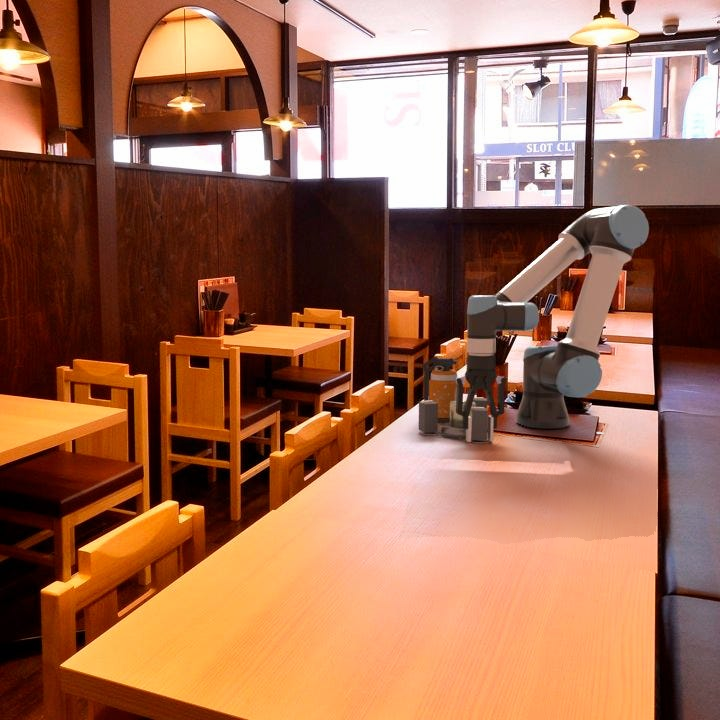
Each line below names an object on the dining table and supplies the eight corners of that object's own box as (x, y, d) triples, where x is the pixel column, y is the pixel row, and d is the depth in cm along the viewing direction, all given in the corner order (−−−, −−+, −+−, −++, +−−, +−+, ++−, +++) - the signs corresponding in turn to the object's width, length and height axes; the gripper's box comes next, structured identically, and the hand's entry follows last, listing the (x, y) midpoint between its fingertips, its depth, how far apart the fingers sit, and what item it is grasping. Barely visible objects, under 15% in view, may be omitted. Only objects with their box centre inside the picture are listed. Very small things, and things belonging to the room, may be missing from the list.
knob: (486, 425, 224) (487, 396, 223) (486, 428, 220) (487, 398, 219) (472, 425, 224) (472, 396, 223) (472, 427, 220) (472, 398, 220)
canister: (457, 426, 226) (458, 358, 224) (419, 425, 228) (420, 358, 226) (459, 421, 235) (460, 355, 233) (423, 419, 237) (424, 354, 235)
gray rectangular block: (486, 437, 208) (487, 406, 207) (487, 440, 204) (487, 408, 203) (471, 436, 208) (472, 405, 207) (471, 440, 204) (472, 408, 203)
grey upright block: (431, 428, 219) (431, 399, 218) (437, 431, 215) (438, 401, 214) (418, 429, 217) (418, 400, 216) (424, 432, 214) (424, 402, 213)
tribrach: (488, 428, 224) (489, 395, 223) (489, 444, 203) (490, 408, 202) (421, 425, 227) (421, 393, 226) (415, 441, 206) (415, 406, 205)
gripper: (510, 352, 208) (508, 437, 211) (444, 352, 206) (443, 438, 209) (519, 355, 201) (517, 443, 203) (450, 355, 199) (448, 444, 201)
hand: (479, 440), depth 206 cm, fingers closed on tribrach, 5 cm apart
